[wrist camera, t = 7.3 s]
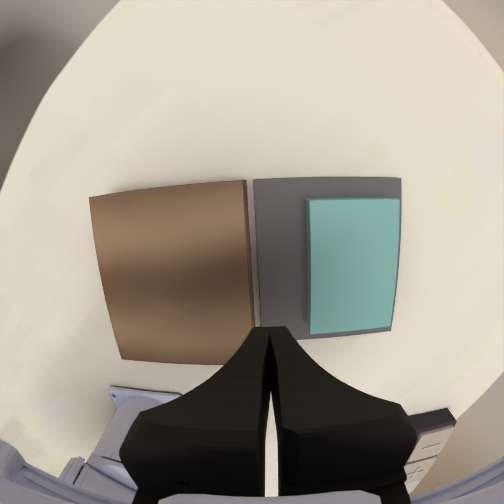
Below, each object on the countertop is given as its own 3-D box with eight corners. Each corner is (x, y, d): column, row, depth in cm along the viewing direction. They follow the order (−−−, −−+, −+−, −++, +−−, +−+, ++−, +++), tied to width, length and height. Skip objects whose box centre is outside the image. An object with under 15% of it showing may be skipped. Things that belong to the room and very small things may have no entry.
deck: (255, 338, 22) (254, 364, 19) (137, 337, 23) (121, 359, 20) (246, 180, 20) (242, 180, 16) (113, 193, 20) (89, 197, 17)
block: (310, 334, 20) (306, 321, 21) (390, 326, 19) (381, 314, 21) (309, 200, 17) (305, 198, 19) (399, 199, 17) (387, 197, 19)
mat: (389, 328, 22) (390, 330, 21) (262, 338, 22) (262, 341, 22) (398, 177, 19) (401, 178, 18) (253, 179, 19) (253, 179, 19)
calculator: (461, 423, 21) (413, 495, 24) (445, 402, 25) (405, 475, 28) (374, 443, 21) (339, 511, 24) (363, 416, 26) (334, 488, 29)
